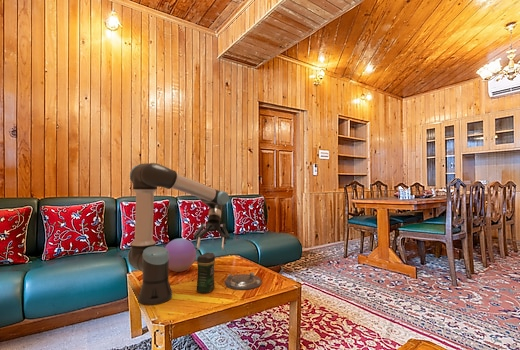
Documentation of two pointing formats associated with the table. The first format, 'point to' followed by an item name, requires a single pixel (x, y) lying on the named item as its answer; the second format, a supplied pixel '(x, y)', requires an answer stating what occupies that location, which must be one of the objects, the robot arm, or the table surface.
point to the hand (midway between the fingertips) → (210, 248)
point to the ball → (180, 254)
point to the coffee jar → (205, 273)
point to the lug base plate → (242, 281)
